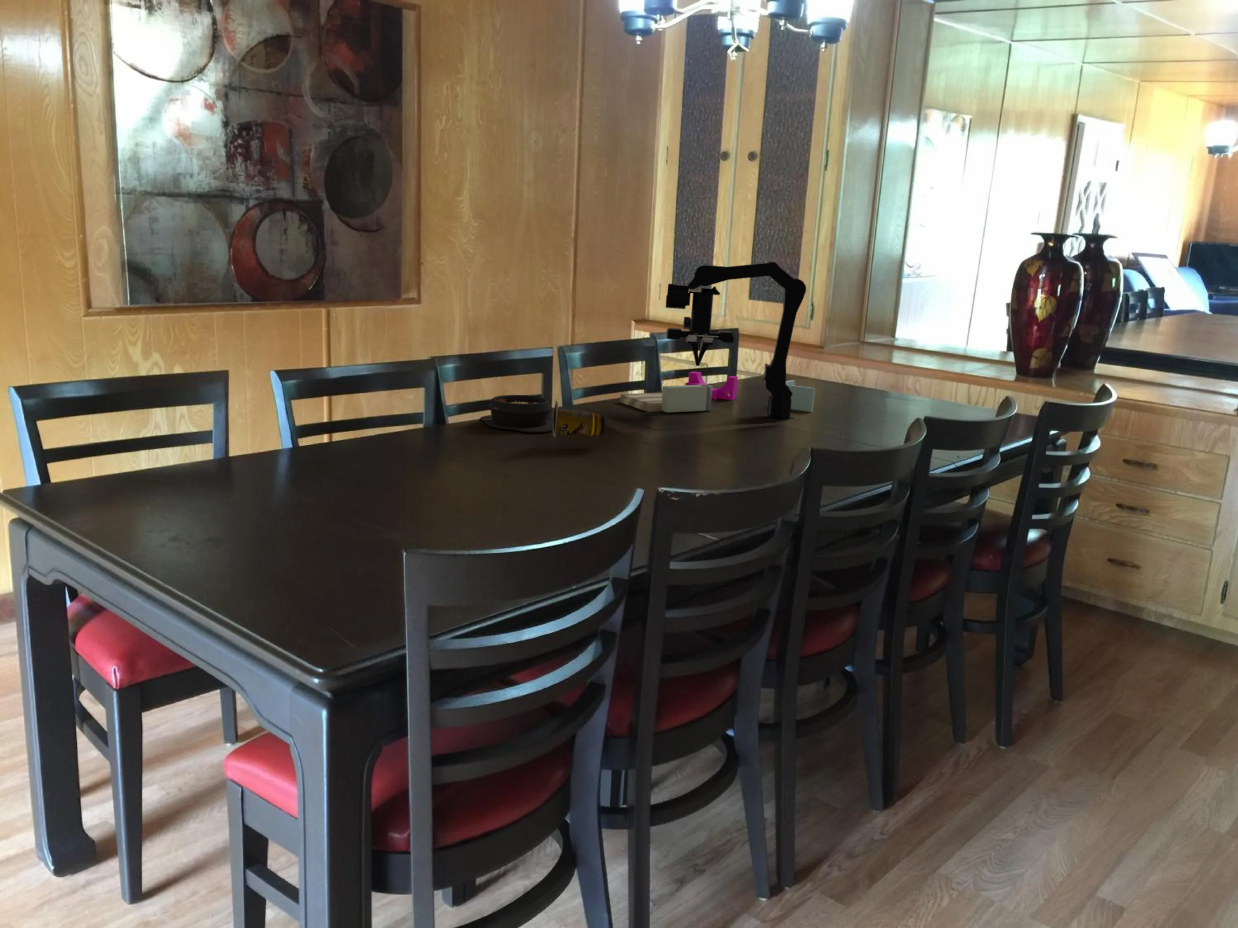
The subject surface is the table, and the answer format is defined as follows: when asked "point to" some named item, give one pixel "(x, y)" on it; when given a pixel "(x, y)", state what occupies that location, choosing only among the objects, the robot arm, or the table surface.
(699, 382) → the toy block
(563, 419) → the yellow can
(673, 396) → the pale grey rectangular block
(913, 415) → the table surface
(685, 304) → the robot arm
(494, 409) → the casserole
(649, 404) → the stool seat
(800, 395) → the right angle wall
